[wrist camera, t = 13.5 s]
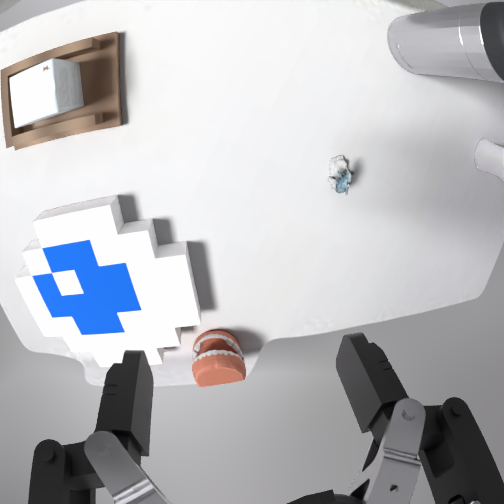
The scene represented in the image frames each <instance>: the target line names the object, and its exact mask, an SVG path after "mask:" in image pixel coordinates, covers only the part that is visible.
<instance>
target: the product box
mask: <svg viewBox="0 0 504 504" xmlns="http://www.w3.org/2000/svg"><path fill="white" fill-rule="evenodd" d="M10 91H11V101H12V110H13V117H14V125H15V128H18V127H22V126H25V125H29V124H33V123H36V122H40V121H43V120H46V119H49V118H52V117H55V116H58V115H61V114H64V113H67V112H69V111H72V110H75V109H79V108H82V107H84V101H83V93H82V84H81V74H80V65H79V62H74V61H68V60H61V59H55V58H52V59H50V60H47V61H45V62H42V63H40V64H38V65H35V66H33V67H31V68H29V69H27V70H25V71H23V72H20V73H18V74H16V75H14V76H12V77H10Z"/></svg>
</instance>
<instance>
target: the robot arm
mask: <svg viewBox="0 0 504 504" xmlns="http://www.w3.org/2000/svg"><path fill="white" fill-rule="evenodd" d="M388 43H389V47H390V50H391V53H392V54H393V56H394V58H395V59H396V61H397V62H398V63H399V64H400V65H401V66H402V67H403V68H404V69H405V70H407V71H409V72H411V73H414V74H425V75H440V76H453V77H463V78H472V79H480V80H487V81H494V82H500V83H504V2H489V3H478V4H470V5H461V6H454V7H447V8H441V9H435V10H430V11H425V12H420V13H415V14H410V15H406V16H402V17H398V18H397V19H395V20H394V21H393V22H392V23H391V25H390V27H389V30H388ZM336 368H337V372H338V374H339V377H340V379H341V382H342V384H343V387H344V389H345V391H346V394H347V396H348V399H349V401H350V404H351V406H352V409H353V411H354V414H355V416H356V418H357V421H358V424H359V426H360V429H361V431H362V433H365V432H368V431H371V432H372V434H373V437H372V439H371V441H370V444H369V447H368V449H367V452H366V455H365V457H364V460H363V463H362V465H361V468H360V470H359V472H358V475H357V476H356V478H355V479H354V481H353V483H352V484H351V486H350V488H349V490H348V492H347V494H346V495H342V494H334V493H333V490H328V491H325V492H321V493H316V494H311V495H307V496H304V497H301V498H299V499H297V500H295V501H292V502H290V503H287V504H410V501H411V498H412V495H413V491H414V488H415V485H416V481H417V478H418V474H419V470H420V465H421V463H422V466H423V468H424V471H425V474H426V477H427V480H428V482H429V485H430V488H431V491H432V494H433V497H434V500H435V503H436V504H504V483H503V480H502V478H501V476H500V473H499V471H498V468H497V466H496V463H495V461H494V459H493V457H492V454H491V452H490V450H489V448H488V446H487V444H486V441H485V439H484V437H483V435H482V433H481V431H480V429H479V427H478V425H477V423H476V421H475V419H474V417H473V415H472V413H471V411H470V409H469V408H468V405H467V404H466V403H465V402H464V401H463V400H462V399H460V398H456V397H452V398H449V399H447V400H446V401H445V402H444V403H443V405H437V406H423V405H422V404H421V403H420V402H419V401H417V400H415V399H411V398H409V397H408V395H407V393H406V391H405V389H404V388H403V386H402V384H401V382H400V380H399V379H398V377H397V375H396V373H395V372H394V370H393V369H392V366H391V364H390V362H388V359H387V357H386V355H385V353H384V352H383V350H382V349H381V348H380V347H378V346H377V345H376V344H375V343H368V341H367V339H366V337H365V335H364V334H363V333H355V334H348V335H344V336H343V339H342V342H341V345H340V348H339V352H338V355H337V358H336ZM104 385H105V386H104V388H103V395H102V397H101V403H100V408H99V413H98V418H97V424H96V429H95V431H94V433H93V434H91V435H90V436H89V437H88V438H87V440H85V441H83V442H80V443H75V444H68V445H61V444H59V443H58V442H57V441H55V440H51V439H47V440H44V441H41V442H40V443H39V444H38V445H37V446H36V449H35V451H34V456H33V463H32V471H31V479H30V489H29V500H28V504H95V493H96V488H101V487H106V488H107V490H108V491H109V493H110V494H111V495H112V497H113V499H114V501H115V502H114V503H115V504H172V503H171V502H170V501H169V500H168V499H167V498H166V497H165V495H164V494H163V493H162V492H161V491H160V490H159V488H158V487H157V486H156V485H155V484H154V483H153V481H152V480H151V479H150V478H149V476H148V475H147V474H146V473H145V471H144V470H143V469H142V468H141V465H140V464H141V456H149V443H150V425H151V410H152V397H153V375H152V372H151V369H150V366H149V363H148V360H147V357H146V354H145V352H144V350H125V352H124V355H123V360H122V363H113V365H112V366H111V368H110V369H109V370H108V372H107V374H106V379H105V383H104ZM417 455H419V458H420V460H421V462H420V460H418V459H417Z"/></svg>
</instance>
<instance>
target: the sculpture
mask: <svg viewBox="0 0 504 504" xmlns="http://www.w3.org/2000/svg"><path fill="white" fill-rule="evenodd" d="M346 166H347V163H346V161H344V157H343V156H342V155H340V156H336V157H334V158H331V159H330V163H329V170H330V176H329V178H328V179H327V180H328V181H329V182H330V183H332V184H331V185H332V188H331V189H333V188H334V189H336V192H337V193H343V192H345V193H346V195H348V188H349V187H350V185H351V183H352V175H353V174H354V172H352V171H350V170H349V169H348V168H347V167H346ZM345 169H346V170H347V172H346V174H345V173H344V171H345Z"/></svg>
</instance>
